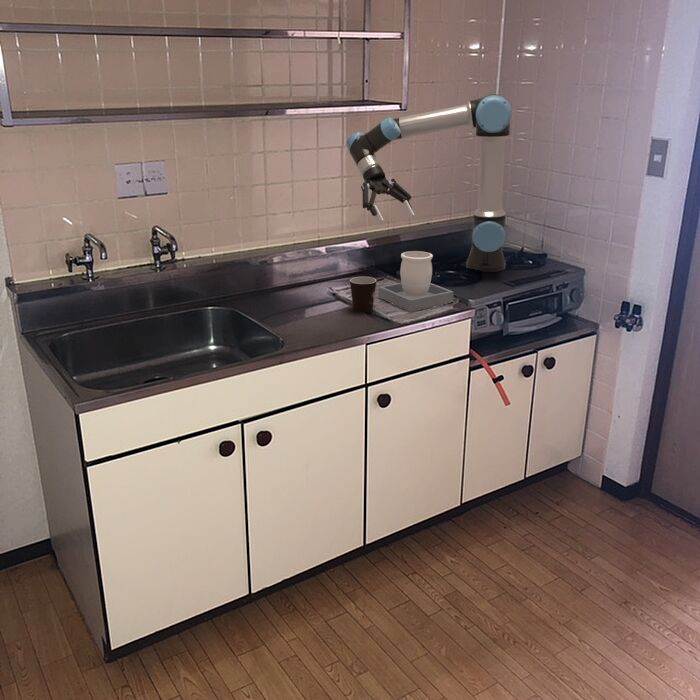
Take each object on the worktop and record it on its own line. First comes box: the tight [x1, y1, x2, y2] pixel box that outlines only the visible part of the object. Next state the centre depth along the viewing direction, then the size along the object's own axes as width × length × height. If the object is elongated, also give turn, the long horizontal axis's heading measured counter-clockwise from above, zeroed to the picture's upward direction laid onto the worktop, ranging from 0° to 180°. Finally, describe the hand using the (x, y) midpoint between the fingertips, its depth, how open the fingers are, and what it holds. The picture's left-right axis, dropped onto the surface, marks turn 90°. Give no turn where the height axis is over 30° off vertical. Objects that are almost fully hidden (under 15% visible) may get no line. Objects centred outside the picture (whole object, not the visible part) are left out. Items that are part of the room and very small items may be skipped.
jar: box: [399, 250, 434, 299], centre depth 257 cm, size 11×10×15 cm
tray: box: [378, 282, 454, 313], centre depth 260 cm, size 18×18×4 cm
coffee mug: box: [349, 276, 377, 314], centre depth 250 cm, size 12×9×10 cm
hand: (397, 219), depth 269 cm, fingers open, 13 cm apart
